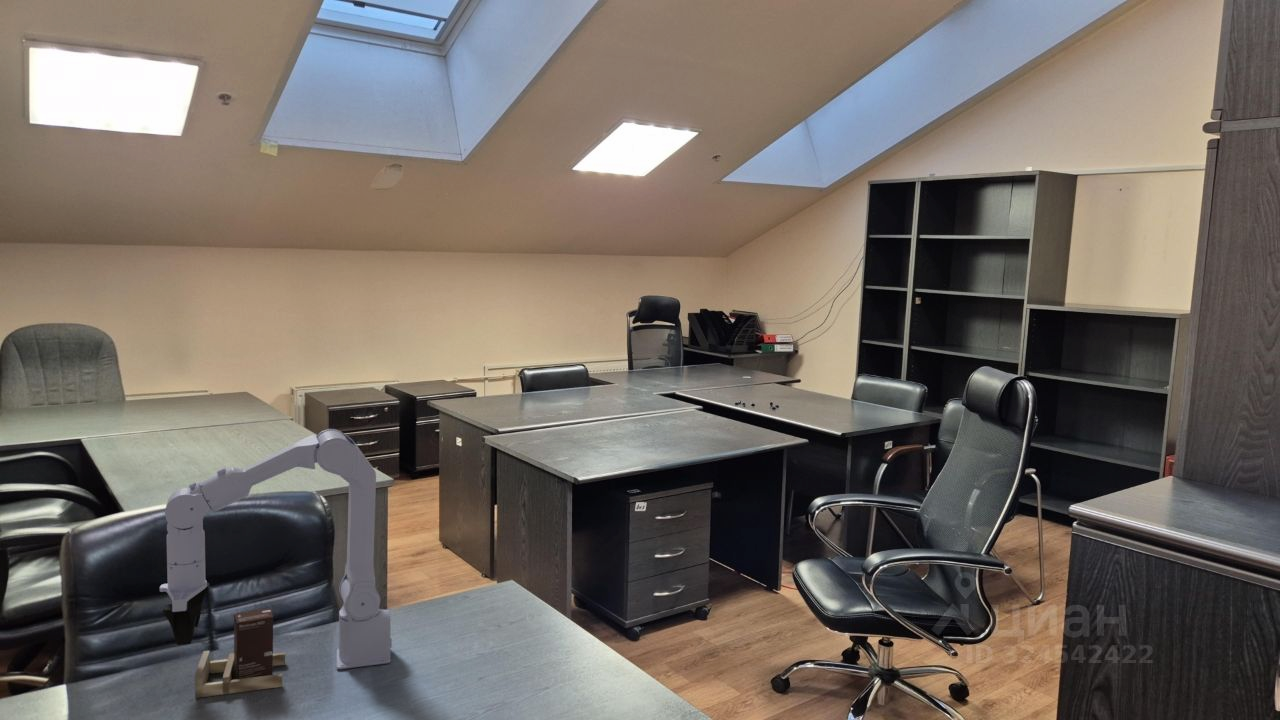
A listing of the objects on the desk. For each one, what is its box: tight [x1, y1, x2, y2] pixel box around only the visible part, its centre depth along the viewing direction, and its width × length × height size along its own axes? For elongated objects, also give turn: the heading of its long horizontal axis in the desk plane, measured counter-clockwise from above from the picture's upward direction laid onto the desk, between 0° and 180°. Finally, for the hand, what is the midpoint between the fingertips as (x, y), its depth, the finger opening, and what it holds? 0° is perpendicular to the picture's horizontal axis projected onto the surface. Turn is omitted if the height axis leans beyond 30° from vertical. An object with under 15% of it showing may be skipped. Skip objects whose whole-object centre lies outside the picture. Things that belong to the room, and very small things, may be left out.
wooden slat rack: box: [194, 650, 286, 699], centre depth 143 cm, size 14×9×4 cm
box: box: [233, 607, 274, 680], centre depth 143 cm, size 6×4×12 cm
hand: (187, 635), depth 140 cm, fingers open, 6 cm apart
